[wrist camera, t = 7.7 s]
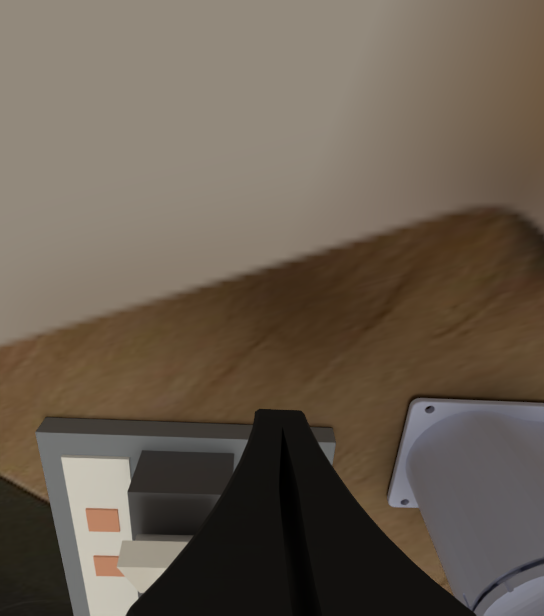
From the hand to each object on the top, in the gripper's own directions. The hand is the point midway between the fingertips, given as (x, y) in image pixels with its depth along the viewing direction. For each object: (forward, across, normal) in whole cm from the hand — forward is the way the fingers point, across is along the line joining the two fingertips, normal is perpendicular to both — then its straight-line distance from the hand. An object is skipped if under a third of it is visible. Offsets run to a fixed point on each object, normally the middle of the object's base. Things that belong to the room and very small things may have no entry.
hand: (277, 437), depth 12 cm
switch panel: (+9, +4, +20) cm, 22 cm away
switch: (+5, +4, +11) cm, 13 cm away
